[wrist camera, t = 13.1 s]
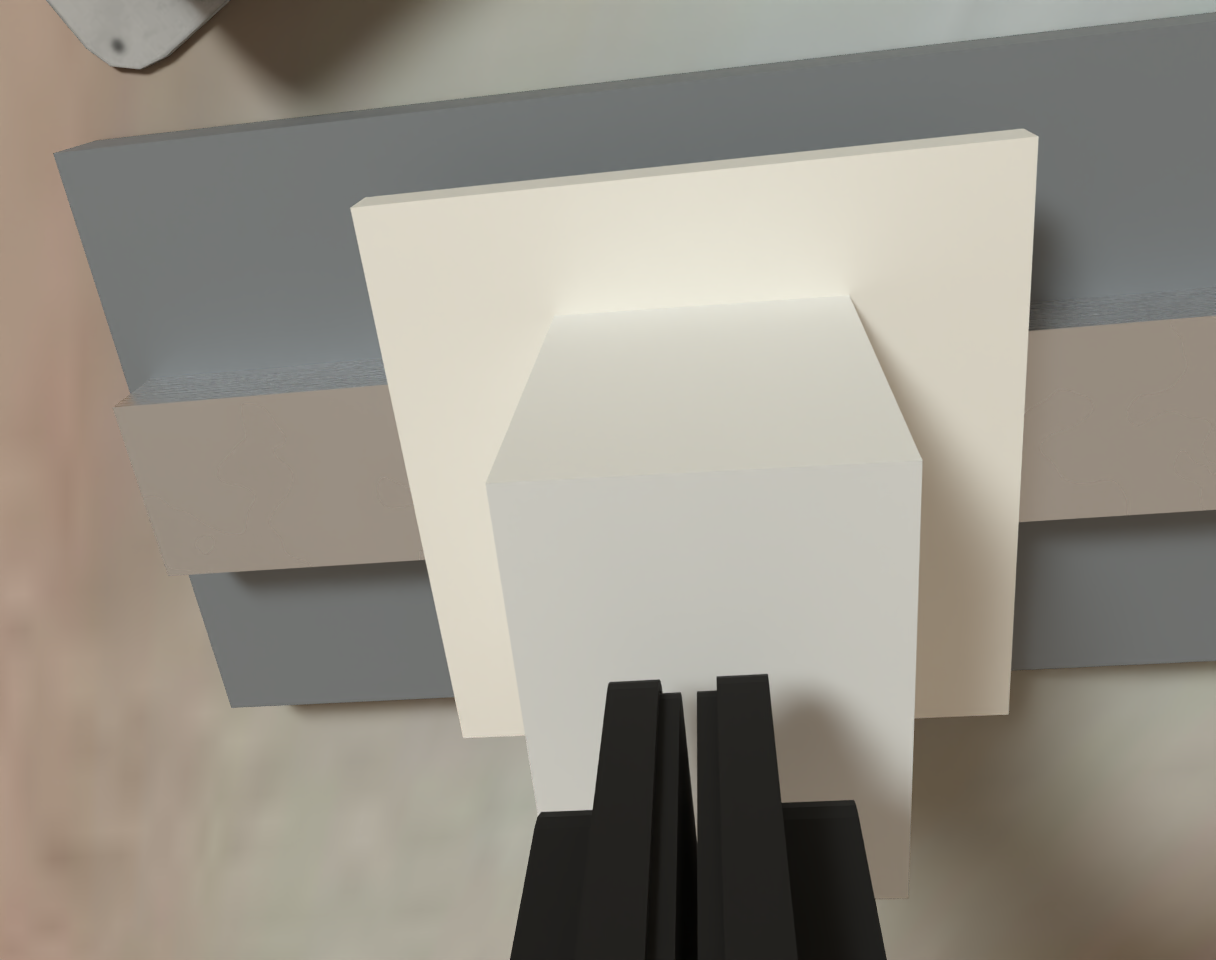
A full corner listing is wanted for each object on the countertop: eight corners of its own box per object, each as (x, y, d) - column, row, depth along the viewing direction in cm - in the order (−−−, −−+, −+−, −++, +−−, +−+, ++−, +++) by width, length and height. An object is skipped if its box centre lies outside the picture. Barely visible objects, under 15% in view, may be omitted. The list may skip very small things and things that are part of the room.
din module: (848, 295, 16) (922, 460, 11) (849, 637, 19) (908, 908, 14) (554, 315, 17) (485, 483, 11) (594, 646, 19) (553, 909, 14)
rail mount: (1350, -4, 18) (1466, 3, 15) (1250, 616, 23) (1324, 703, 20) (95, 140, 20) (3, 168, 18) (256, 667, 25) (203, 752, 23)
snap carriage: (998, 115, 17) (1038, 136, 15) (977, 682, 22) (1005, 758, 20) (389, 179, 18) (350, 208, 16) (492, 705, 23) (472, 779, 21)
